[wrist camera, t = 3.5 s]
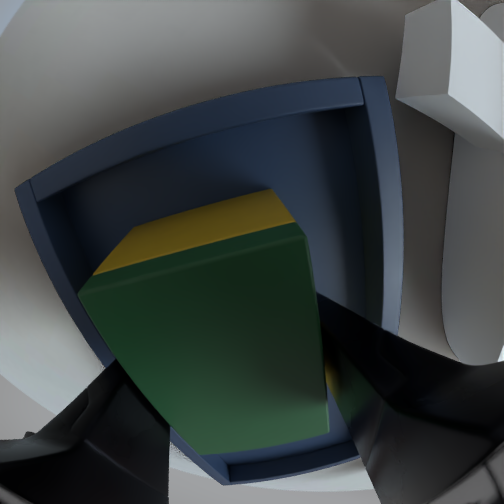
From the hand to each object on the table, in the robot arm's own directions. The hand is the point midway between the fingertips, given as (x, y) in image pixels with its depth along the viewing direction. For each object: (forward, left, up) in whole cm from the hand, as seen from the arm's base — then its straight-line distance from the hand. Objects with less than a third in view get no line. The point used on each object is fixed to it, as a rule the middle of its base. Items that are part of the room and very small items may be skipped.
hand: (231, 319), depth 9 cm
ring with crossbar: (+23, -1, -2) cm, 23 cm away
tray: (0, -5, -1) cm, 5 cm away
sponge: (0, 0, -1) cm, 1 cm away
